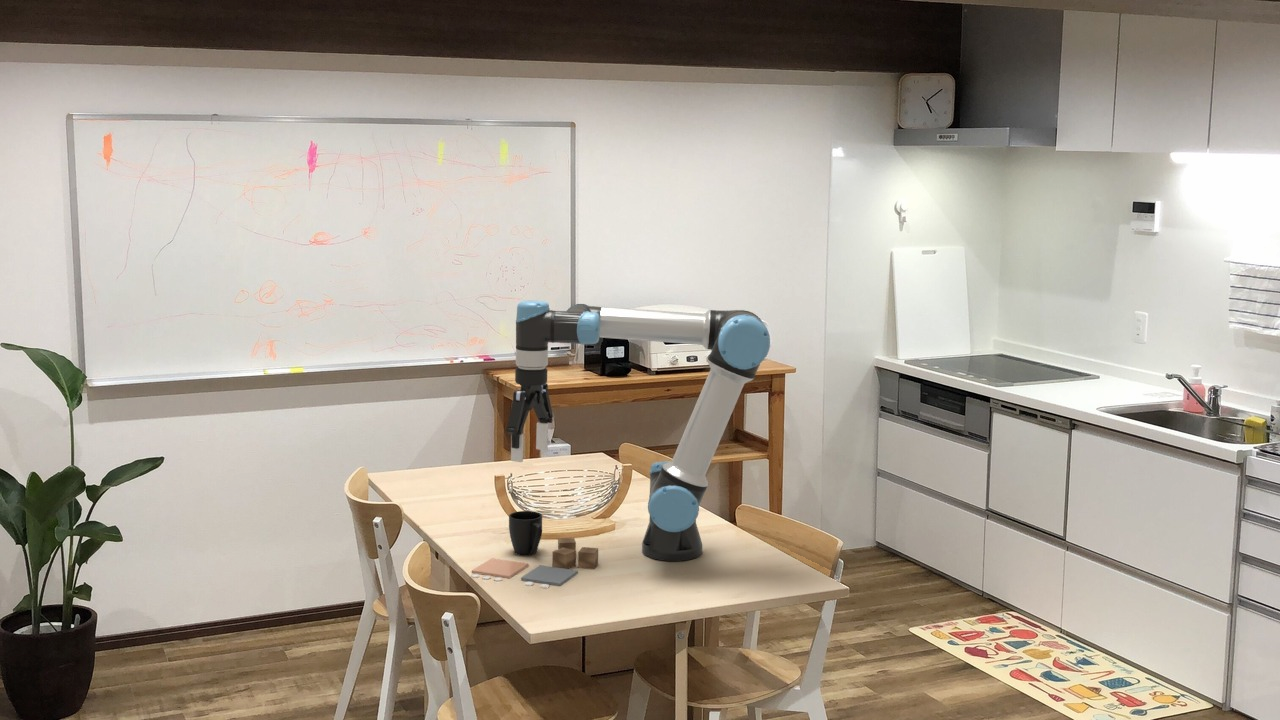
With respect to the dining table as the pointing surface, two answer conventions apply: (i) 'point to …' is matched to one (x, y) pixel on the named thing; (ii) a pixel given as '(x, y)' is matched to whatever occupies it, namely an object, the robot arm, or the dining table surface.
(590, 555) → the block
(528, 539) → the mug
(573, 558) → the block
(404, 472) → the dining table surface
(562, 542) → the block
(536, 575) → the pad two
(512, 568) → the pad three
